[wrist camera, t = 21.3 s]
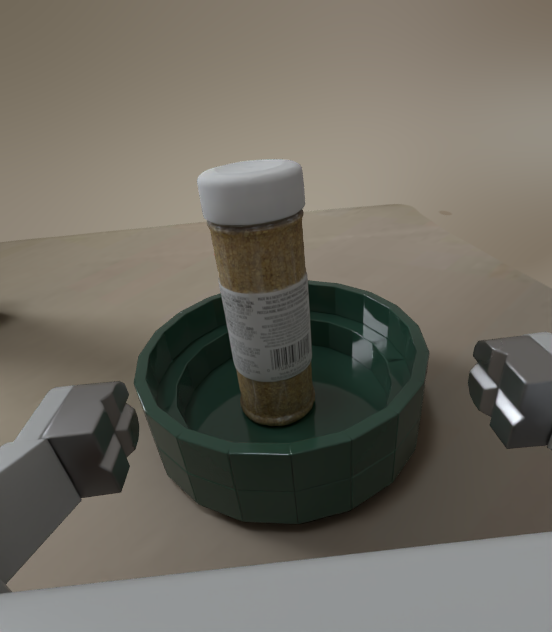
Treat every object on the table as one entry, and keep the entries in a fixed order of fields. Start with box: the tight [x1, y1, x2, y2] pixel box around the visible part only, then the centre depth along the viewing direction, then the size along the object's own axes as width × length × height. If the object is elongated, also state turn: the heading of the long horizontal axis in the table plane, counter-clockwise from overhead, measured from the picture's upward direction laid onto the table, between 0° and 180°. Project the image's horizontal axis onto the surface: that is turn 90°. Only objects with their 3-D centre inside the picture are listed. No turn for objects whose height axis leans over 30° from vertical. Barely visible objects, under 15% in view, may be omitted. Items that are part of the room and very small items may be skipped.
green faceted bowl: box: [134, 280, 429, 524], centre depth 22 cm, size 15×15×5 cm
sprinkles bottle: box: [197, 159, 315, 426], centre depth 20 cm, size 5×5×13 cm
